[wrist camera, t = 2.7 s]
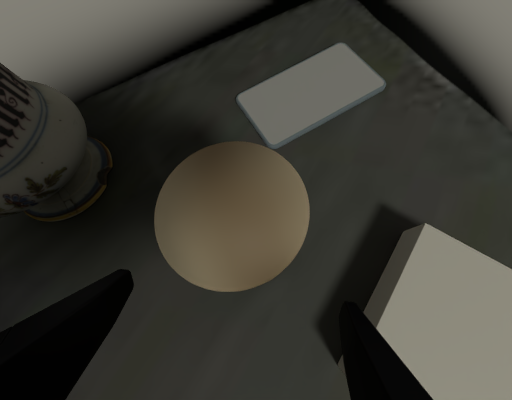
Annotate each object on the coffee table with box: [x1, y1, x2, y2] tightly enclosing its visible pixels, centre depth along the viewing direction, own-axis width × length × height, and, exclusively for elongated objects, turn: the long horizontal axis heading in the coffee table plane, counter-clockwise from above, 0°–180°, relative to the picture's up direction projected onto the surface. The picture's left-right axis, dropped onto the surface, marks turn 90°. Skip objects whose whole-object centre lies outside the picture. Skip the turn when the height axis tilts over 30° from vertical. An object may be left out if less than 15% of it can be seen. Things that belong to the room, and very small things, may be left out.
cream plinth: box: [338, 223, 512, 400], centre depth 15 cm, size 12×12×3 cm
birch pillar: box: [154, 141, 310, 292], centre depth 14 cm, size 5×5×13 cm
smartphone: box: [236, 43, 386, 149], centre depth 25 cm, size 8×1×15 cm
